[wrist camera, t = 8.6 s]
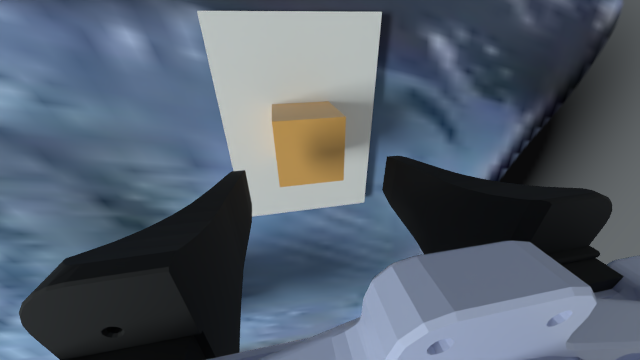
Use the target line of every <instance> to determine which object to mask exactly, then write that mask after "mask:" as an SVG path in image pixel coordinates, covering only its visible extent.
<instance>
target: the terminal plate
mask: <svg viewBox="0 0 640 360" xmlns="http://www.w3.org/2000/svg"><path fill="white" fill-rule="evenodd" d="M197 13H198V17H199V22H200V26H201V30H202V35H203V39H204V43H205V48H206V52H207V57H208V61H209V65H210V70H211V74H212V78H213V83H214V87H215V92H216V96H217V100H218V105H219V109H220V114H221V118H222V122H223V127H224V131H225V135H226V140H227V144H228V149H229V153H230V157H231V162H232V166H233V170H234V171H242V170H245V172H246V177H247V182H248V187H249V192H250V197H251V202H252V216H260V215H268V214H276V213H284V212H292V211H300V210H308V209H316V208H324V207H332V206H340V205H348V204H356V203H364V199H365V188H366V177H367V167H368V156H369V145H370V135H371V124H372V113H373V103H374V92H375V81H376V70H377V60H378V49H379V38H380V28H381V17H382V12H316V11H197ZM324 101H329V102H330V103H331V104H332V105H333V106H334V107H335V108H337V109H338V110H339V111H340V112H341V113H342V114H343V115H345V116H346V130H345V157H344V180H343V181H333V182H324V183H315V184H306V185H296V186H287V187H280V185H279V177H278V169H277V160H276V152H275V144H274V136H273V127H272V104H287V103H306V102H324Z"/></svg>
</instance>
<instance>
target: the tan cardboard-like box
mask: <svg viewBox="0 0 640 360" xmlns="http://www.w3.org/2000/svg"><path fill="white" fill-rule="evenodd" d="M272 127H273V136H274V144H275V152H276V160H277V169H278V177H279V185H280V187H287V186H296V185H306V184H315V183H324V182H333V181H343V180H344V157H345V130H346V116H345V115H343V114H342V113H341V112H340V111H339V110H338V109H337V108H335V107H334V106H333V105H332V104H331V103H330V102H329V101H324V102H306V103H287V104H272Z"/></svg>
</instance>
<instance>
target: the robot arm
mask: <svg viewBox="0 0 640 360" xmlns="http://www.w3.org/2000/svg"><path fill="white" fill-rule="evenodd" d="M382 190H383V192H384V194H385V196H386V198H387V200H388V202H389V204H390V205H391V207H392V208H393V210H394V211H395V212H396V214H397V215H398V217H399V218H400V219H401V221H402V222H403V223H404V225H405V226H406V227H407V229H408V230H409V231H410V233H411V234H412V235H413V237H414V238H415V240H416V241H417V243H418V244H419V246H420V248H421V250H422V251H423V253H424V255H418V256H413V257H410V258H407V259H404V260H401V261H398V262H396V263H393V264H391V265H389V266H388V267H387V268H385V269H384V270H383V271H382V272H380V273H379V274H378V275H377V276H375V277H374V278H373V280H372V282H371V284H370V286H369V288H368V290H367V292H366V294H365V296H364V299H363V307H362V314H361V317H359V318H357V319H354V320H352V321H349V322H347V323H345V324H342V325H340V326H337V327H335V328H332V329H330V330H328V331H325V332H323V333H320V334H318V335H315V336H313V337H311V338H307V339H302V340H297V341H292V342H288V343H283V344H278V345H273V346H269V347H264V348H259V349H254V350H249V351H245V352H240V353H239V345H240V317H241V298H242V282H243V269H244V261H245V256H246V250H247V245H248V240H249V234H250V229H251V223H252V202H251V197H250V192H249V187H248V182H247V177H246V172H245V170H242V171H232V172H230V173H229V174H228V175H227V176H225V177H224V178H223V179H222V180H221V181H220V182H218V183H217V184H216V185H215V186H214V187H212V188H211V189H210V190H209V191H207V192H206V193H205V194H203V195H202V196H201V197H199V198H198V199H197V200H195V201H194V202H193V203H191V204H190V205H188V206H187V207H185V208H183V209H182V210H180V211H178V212H177V213H175V214H173V215H171V216H170V217H168V218H166V219H164V220H162V221H160V222H158V223H156V224H154V225H152V226H150V227H148V228H146V229H143V230H141V231H139V232H137V233H134V234H132V235H130V236H127V237H125V238H122V239H120V240H117V241H115V242H112V243H109V244H107V245H104V246H101V247H98V248H95V249H92V250H89V251H87V252H84V253H81V254H78V255H75V256H72V257H69V258H66V259H65V260H63V262H62V263H61V264H60V265H59V266H58V267H57V268H56V269H55V270H54V271H53V272H52V273H51V274H50V275H49V276H48V277H47V278H46V279H45V280H44V281H43V282H42V283H41V284H40V285H39V286H38V287H37V288H36V289H35V290H34V291H33V292H32V293H31V294H30V295H29V296H28V297H27V298H26V299H25V300H24V301H23V302H22V305H21V308H20V311H19V315H20V319H21V323H22V325H23V327H24V328H25V329H26V330H27V331H28V333H29V334H30V335H31V336H33V337H34V338H35V339H36V340H37V341H38V342H40V343H41V344H42V345H43V346H44V347H46V348H47V349H48V350H49V351H50V352H51V353H53V354H54V355H55V356H56V357H57V358H59V359H60V360H640V256H633V257H628V258H623V259H618V260H614V261H612V262H610V263H609V264H607V265H606V264H604V263H602V262H601V261H599V260H598V259H596V257H598V256H599V255H600V253H599V251H597V250H595V249H594V248H592V247H590V246H589V245H590V243H591V242H592V241H593V240H594V238H595V237H596V236H597V234H598V233H599V232H600V230H601V229H602V228H603V226H604V225H605V224H606V222H607V220H608V219H609V217H610V215H611V212H612V203H611V201H610V199H609V198H608V197H606V196H604V195H602V194H600V193H597V192H595V191H592V190H588V189H582V188H558V187H540V186H529V185H519V184H511V183H503V182H497V181H491V180H485V179H480V178H475V177H471V176H466V175H462V174H458V173H455V172H451V171H448V170H444V169H441V168H438V167H435V166H432V165H429V164H426V163H423V162H419V161H416V160H413V159H410V158H407V157H402V156H390V157H387V160H386V168H385V175H384V182H383V189H382Z"/></svg>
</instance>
